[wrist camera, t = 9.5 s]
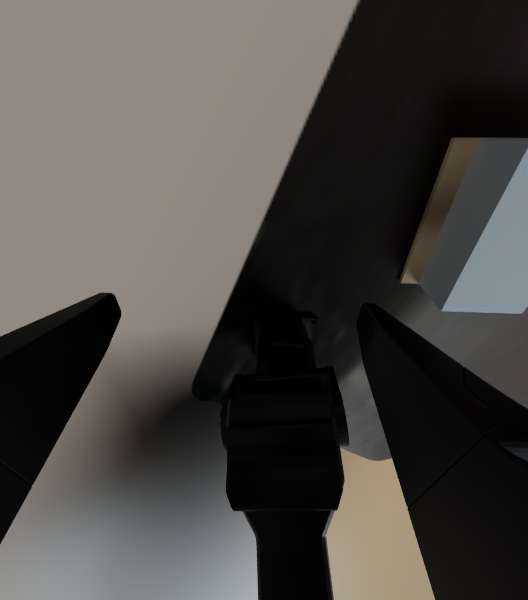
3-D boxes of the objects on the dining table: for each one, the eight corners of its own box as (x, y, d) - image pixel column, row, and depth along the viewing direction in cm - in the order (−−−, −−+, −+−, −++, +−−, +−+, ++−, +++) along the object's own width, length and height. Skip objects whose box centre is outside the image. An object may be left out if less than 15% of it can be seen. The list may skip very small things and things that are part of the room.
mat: (501, 283, 23) (504, 285, 23) (399, 280, 23) (401, 283, 23) (594, 138, 16) (601, 138, 16) (451, 137, 17) (455, 138, 16)
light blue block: (486, 285, 23) (521, 313, 19) (418, 283, 23) (441, 311, 20) (577, 138, 16) (652, 145, 13) (480, 137, 16) (530, 143, 13)
